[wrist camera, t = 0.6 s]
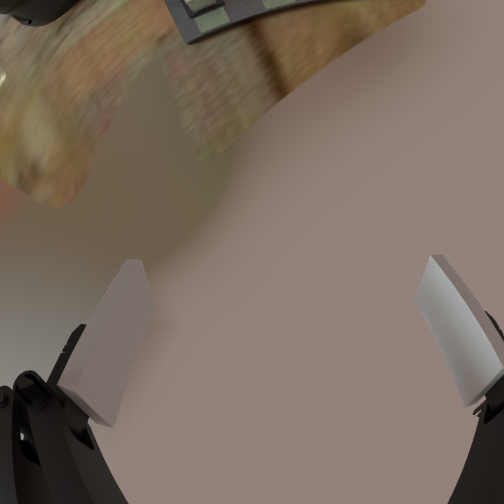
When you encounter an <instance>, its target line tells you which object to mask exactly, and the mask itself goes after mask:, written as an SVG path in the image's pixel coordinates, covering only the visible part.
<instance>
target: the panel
mask: <svg viewBox="0 0 504 504" xmlns="http://www.w3.org/2000/svg"><path fill="white" fill-rule="evenodd" d="M164 1H165V3H166V5H167V7H168V9H169V11H170V13H171V15H172V17H173V19H174V21H175V23H176V25H177V27H178V29H179V31H180V33H181V35H182V37H183V39H184V41H185V43H186V44H188V45H190V44H192V43H194V42H196V41H198V40H200V39H203V38H205V37H207V36H209V35H212V34H214V33H217V32H219V31H221V30H224V29H226V28H229V27H232V26H234V25H237V24H240V23H243V22H245V21H248V20H251V19H254V18H258V17H261V16H264V15H267V14H271V13H274V12H278V11H282V10H286V9H290V8H294V7H298V6H302V5H307V4H312V3H318V2H323V1H329V0H164Z"/></svg>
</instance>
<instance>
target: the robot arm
mask: <svg viewBox="0 0 504 504" xmlns="http://www.w3.org/2000/svg"><path fill="white" fill-rule="evenodd" d="M75 1H76V0H0V14H7V15H9V16H10V17H12V18H14V19H15V20H17V21H18V22H20V23H21V24H23V25H26V26H35V27H38V26H43V25H46V24H48V23H50V22H52V21H54V20H55V19H57V18H58V17H59V16H61V15H62V14H63V13H64V12H65V11H66V10H67V9H68V8H69V7H70V6H71V5H72V4H73V3H74V2H75ZM414 300H415V302H416V304H417V306H418V308H419V310H420V311H421V313H422V315H423V317H424V319H425V321H426V323H427V325H428V327H429V328H430V330H431V333H432V335H433V337H434V338H435V340H436V342H437V345H438V347H439V349H440V351H441V353H442V355H443V358H444V360H445V362H446V364H447V367H448V369H449V371H450V373H451V376H452V378H453V381H454V383H455V385H456V388H457V390H458V393H459V396H460V398H461V401H462V403H463V406H464V408H466V407H468V406H470V405H473V404H475V403H477V402H478V401H479V400H480V399H481V398H482V397H483V396H484V395H485V397H486V400H485V401H484V402H483V403H482V404H481V405H480V406H479V407H478V408H476V409H475V410H474V412H473V415H475V414H476V413H477V412H478V411H480V410H481V412H480V413H479V414H478V415H477V417H479V421H478V425H477V429H476V432H475V435H474V439H473V442H472V445H471V448H470V451H469V454H468V457H467V460H466V462H465V465H464V468H463V471H462V473H461V475H460V477H459V480H458V482H457V485H456V487H455V489H454V491H453V493H452V495H451V497H450V500H449V502H448V504H504V336H503V333H502V331H501V329H499V326H498V325H497V323H496V321H495V320H494V319H493V317H492V316H490V315H489V314H488V313H487V312H486V311H484V310H483V309H482V307H481V306H480V304H479V302H478V301H477V300H476V298H475V297H474V295H473V294H472V293H471V291H470V290H469V288H468V287H467V286H466V284H465V283H464V282H463V280H462V279H461V278H460V276H459V275H458V274H457V273H456V271H455V270H454V269H453V268H452V266H451V265H450V264H449V263H448V261H447V260H446V259H445V258H444V257H443V255H430V259H429V261H428V264H427V267H426V270H425V272H424V275H423V278H422V281H421V283H420V286H419V288H418V291H417V293H416V296H415V298H414ZM155 307H156V305H155V302H154V299H153V296H152V293H151V290H150V287H149V284H148V280H147V277H146V274H145V271H144V267H143V264H142V260H126V261H125V263H124V264H123V266H122V267H121V269H120V270H119V272H118V273H117V275H116V277H115V278H114V280H113V282H112V283H111V285H110V286H109V288H108V290H107V291H106V293H105V294H104V296H103V298H102V299H101V301H100V303H99V305H98V306H97V308H96V310H95V311H94V313H93V315H92V317H91V319H90V320H89V322H88V324H87V325H85V324H81V325H79V327H77V328H76V329H75V330H74V331H73V332H72V334H71V336H70V337H69V339H68V341H67V345H65V347H64V348H63V350H62V353H61V354H60V356H59V358H58V360H57V362H56V364H55V366H54V368H53V370H52V372H51V374H50V376H49V378H48V380H47V382H46V383H45V381H44V380H43V379H42V378H41V377H40V376H39V375H38V374H37V373H36V372H35V371H31V370H29V371H25V372H23V373H21V374H20V375H19V376H18V377H17V379H16V380H15V382H14V385H13V390H12V389H11V388H9V387H8V386H1V387H0V504H128V502H127V500H126V499H125V497H124V495H123V494H122V492H121V490H120V488H119V487H118V485H117V483H116V481H115V479H114V478H113V476H112V474H111V472H110V470H109V468H108V466H107V464H106V462H105V460H104V457H103V455H102V453H101V452H100V449H99V447H98V444H97V442H96V440H95V437H94V435H93V432H92V430H91V427H90V426H89V424H88V423H87V422H88V419H89V417H90V418H91V419H92V420H93V421H95V422H96V423H98V424H101V425H104V426H107V427H111V428H114V425H115V421H116V418H117V415H118V411H119V408H120V405H121V401H122V399H123V395H124V392H125V389H126V386H127V383H128V380H129V377H130V374H131V371H132V368H133V365H134V363H135V360H136V357H137V354H138V351H139V349H140V346H141V343H142V341H143V338H144V335H145V333H146V330H147V327H148V325H149V322H150V319H151V317H152V314H153V312H154V309H155ZM20 432H21V433H22V434H24V439H23V440H21V436H20Z"/></svg>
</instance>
